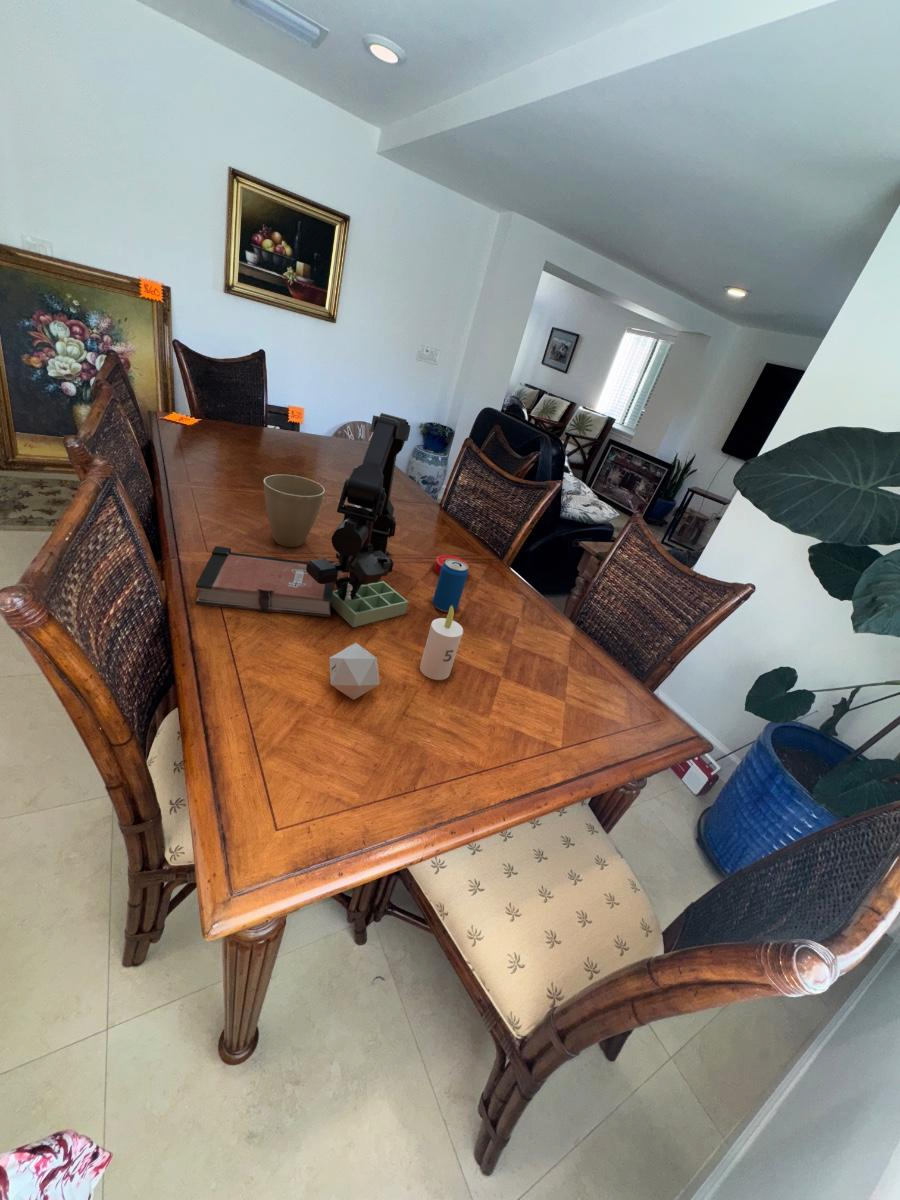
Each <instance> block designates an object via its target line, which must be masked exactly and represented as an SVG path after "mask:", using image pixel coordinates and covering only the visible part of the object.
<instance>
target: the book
mask: <svg viewBox="0 0 900 1200" xmlns="http://www.w3.org/2000/svg"><path fill="white" fill-rule="evenodd" d="M328 561H329V562H330V563H331V564H332V563H335V561H333V560H328ZM308 562H309V561H303V560H294V559H288V558H279V557H270V556H263V555H255V554H247V553H240V552H232V548H231V547H226V546H225V547H224V546H217V545H215V546H214V548H213V549H212V551H211V555H210V557H209V559H208V561H207V563H206V564H205V566H204V568H203V570H202V572H201V574H200V576H199V577H198V580H197V581H196V583H195V588H197V589H198V596H197V598H196V600H195V604H196V605H200V606H201V605H202V606H212V607H222V608H231V609H232V608H233V609H243V610H252V611H253V610H254V611H260V612H261V613H268V612H272V613H273V612H274V613H281V614H283V613H284V614H294V615H303V616H313V617H314V616H315V617H324V618H331V608H332V607H331V602H332V594H333V591H334V582H332V583H326V584H319V583H318V582H316V581H315V580H314V579H313V578H312V577H311V576H310V575H309V574H308V573H307V572H306V567H307V563H308Z"/></svg>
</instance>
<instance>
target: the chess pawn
mask: <svg viewBox="0 0 900 1200" xmlns="http://www.w3.org/2000/svg"><path fill="white" fill-rule="evenodd" d="M352 589H353V587H352V585H351V584H349V583H348V586H347V592H346V597H345V600H344V602H345V601H349V600H352V599H351V596H350V594H351V592H350V591H352Z"/></svg>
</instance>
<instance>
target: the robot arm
mask: <svg viewBox="0 0 900 1200" xmlns="http://www.w3.org/2000/svg"><path fill="white" fill-rule="evenodd" d="M369 432H371V433H372V435H371V437H370V440H369V442H368V443H369V444H368V446H367V449H366V451H365V454H364V457H363V460H362V462H361V463H360V464H359V465H357V466H355V467H353V469H352V470H351V473H350V474H349V478H345V481H344V484H343V487H342V491H341V493H340V494H341V495H340V498H339V502H338V505H337V508H336V513H339V514H342V515H343V520H342V521H341V523H340V524H339V525H338V527H336V529H335V531H333V534H332V535H331V544H332V548H333V550H335V551H336V553H335V558H336V559H337V560H338V562H334V563H332V564H331V563H330V562H329V561H330V560H328V559H327V558H325V557H324V558H318V559H310V560H309V561H307V562H308V563H307V567H306V572H307V573H308V574H309V575H310V576H311V577H312V578H313V579H314V580H315V581H316V582H318V583H319V584H326V583H332V582H333V583H334V584H335V588H336V590H338V593H339V596H340V598H341V599H342V600H343V601H344V600H345V597H346V592H347V586H348V584H351V585H352V587H353V589H352V591H350V592H351V594H350V596H351V599H353V598H354V596H355V595H356V593H357V591H358V590H359V588H360V586H361V585H368V584H372V583H378V582H380V581H381V579H382V577H387V576H388V575H389V573H391V572H393V569H394V562H393V559H392V558H391V557H389V556H388V555H389V554H390V552H389V551H388V550H387V547H388V539H391V538H392V537H394V536H395V534H396V529H397V528H396V527H397V522H396V516H394V513H395V508H394V505H393V504H392V501H391V495H392V494H391V493H392V487H393V480H394V476H395V475H394V473H395V468H396V463H397V462H396V461H397V457H398V456H397V455H398V454H399V453H400V452H401V451H402V450H403V449H404V446H405V443H406V442H408V441H409V436H410V432H411V425H410V424H409V421H407V419H405V418H402V417H398V416H395V415H391V414H387V413H383V412H381V413H380V415H379V416H378V415H372V420H371V425H370V429H369ZM346 501H347V504H345V503H346Z"/></svg>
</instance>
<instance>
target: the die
mask: <svg viewBox="0 0 900 1200" xmlns="http://www.w3.org/2000/svg"><path fill="white" fill-rule="evenodd" d="M328 660H329V676H330V677H329V678H330V679H329V681H330V685H331V686H332V687H333V688H334V689H336V690H338V691H339V692H340V693H342V694H344V695H345V696H347V697H348V698H350V699H351V700H352V701H355V700H356V699H358V698H359V697H361V696H363V695H365V694H366V693H367V692H369V691H371V690H373V689H374V688H376V687H378V686H380V685H381V682H380V681H381V680H380V672H379V665H378V658H377V657H376V656H374V655H373V654H372V653H371V652H369V651H368V650H367V649H365V648H364V647H363V646H361V645H360V644H358V643H357V642H353V643H352V644H351V645H349V646H348V647H346V648H344V649H342V650H341V651H339V652H338V653H335V654H333V655H331V656H330V657H329V659H328Z"/></svg>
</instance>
